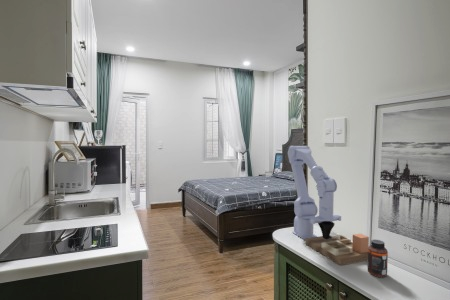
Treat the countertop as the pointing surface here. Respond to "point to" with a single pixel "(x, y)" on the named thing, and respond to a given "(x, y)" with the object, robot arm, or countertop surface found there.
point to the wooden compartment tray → (340, 259)
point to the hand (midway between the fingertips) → (325, 238)
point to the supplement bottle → (377, 258)
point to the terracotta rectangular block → (360, 243)
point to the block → (333, 237)
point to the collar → (341, 250)
